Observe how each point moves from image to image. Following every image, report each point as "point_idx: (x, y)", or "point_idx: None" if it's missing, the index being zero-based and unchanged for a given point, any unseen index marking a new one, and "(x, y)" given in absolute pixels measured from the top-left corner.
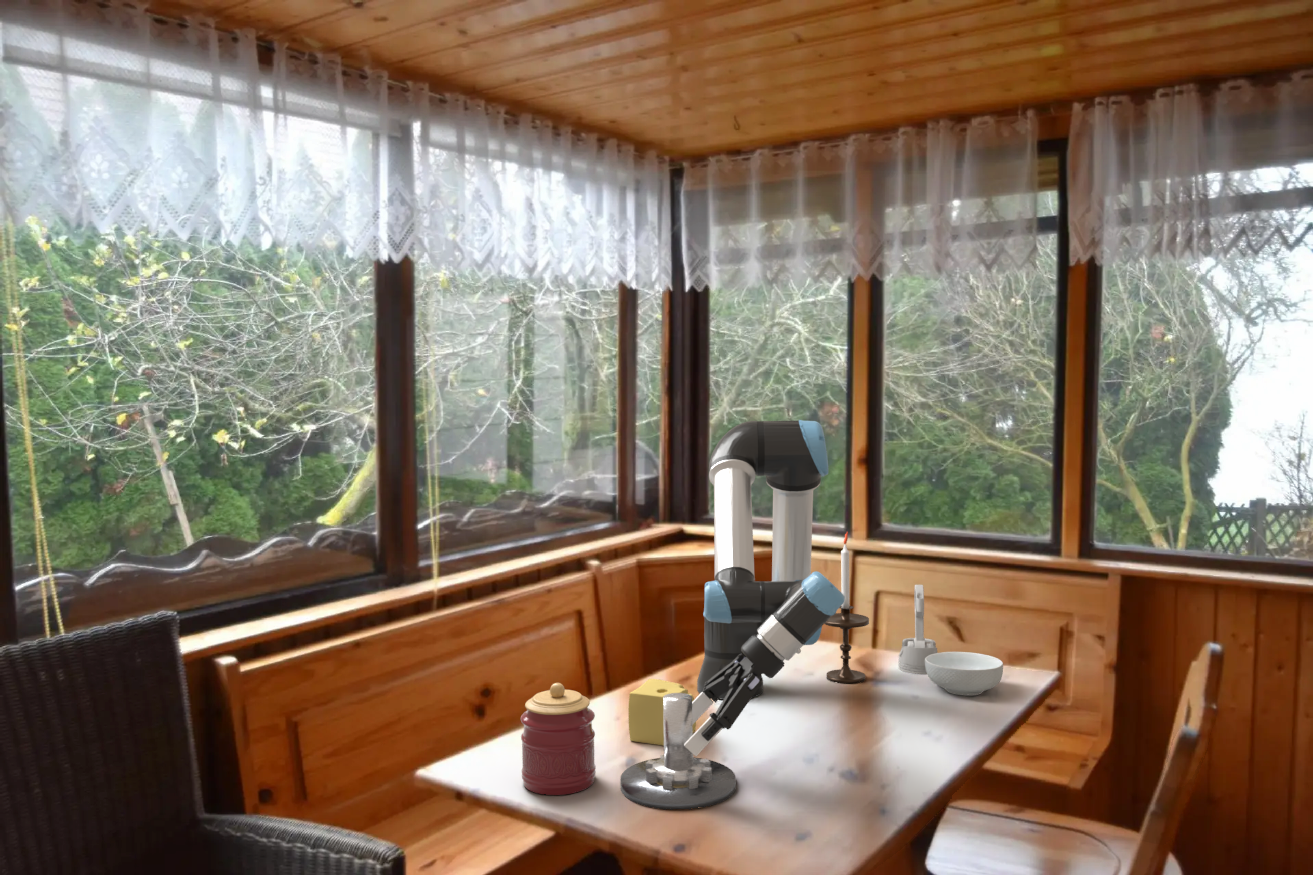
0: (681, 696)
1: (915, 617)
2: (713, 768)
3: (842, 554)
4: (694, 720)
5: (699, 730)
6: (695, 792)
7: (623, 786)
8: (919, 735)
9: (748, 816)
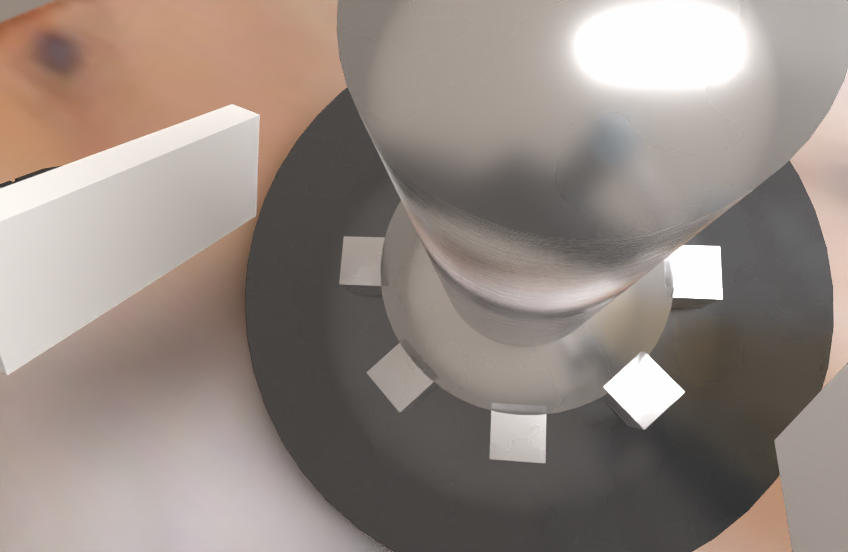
0: (583, 65)
1: None
2: (543, 505)
3: None
4: (795, 505)
5: (104, 157)
6: (321, 263)
7: None
8: None
9: (99, 384)
